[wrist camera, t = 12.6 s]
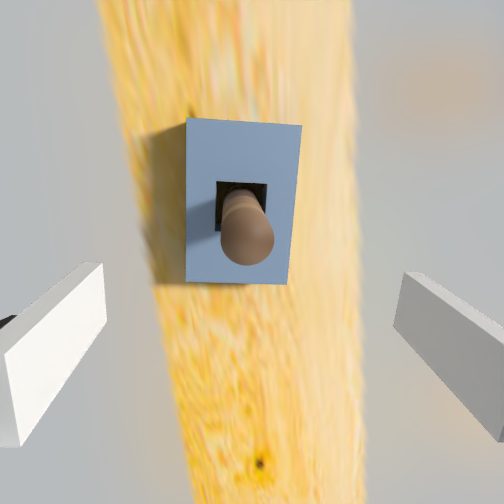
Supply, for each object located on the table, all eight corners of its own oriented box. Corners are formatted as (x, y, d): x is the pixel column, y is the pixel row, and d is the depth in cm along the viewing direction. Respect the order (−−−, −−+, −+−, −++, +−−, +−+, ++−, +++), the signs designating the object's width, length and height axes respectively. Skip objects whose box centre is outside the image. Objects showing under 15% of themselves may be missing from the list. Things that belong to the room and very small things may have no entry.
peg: (224, 184, 42) (221, 211, 25) (256, 186, 42) (276, 214, 25) (222, 217, 43) (219, 264, 26) (254, 218, 43) (272, 266, 26)
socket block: (190, 120, 39) (186, 117, 35) (294, 127, 40) (302, 125, 36) (189, 268, 45) (185, 281, 40) (281, 271, 46) (286, 284, 41)
